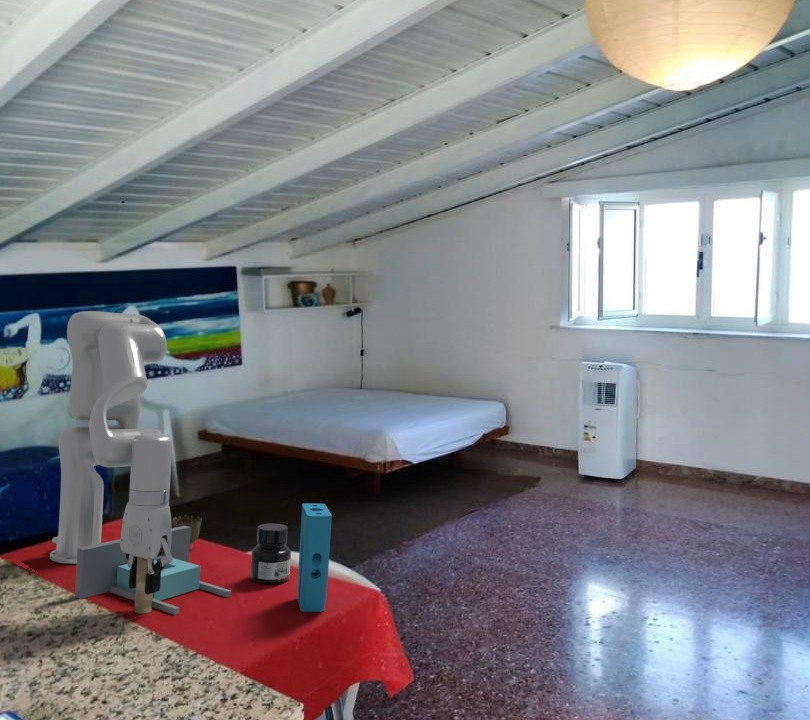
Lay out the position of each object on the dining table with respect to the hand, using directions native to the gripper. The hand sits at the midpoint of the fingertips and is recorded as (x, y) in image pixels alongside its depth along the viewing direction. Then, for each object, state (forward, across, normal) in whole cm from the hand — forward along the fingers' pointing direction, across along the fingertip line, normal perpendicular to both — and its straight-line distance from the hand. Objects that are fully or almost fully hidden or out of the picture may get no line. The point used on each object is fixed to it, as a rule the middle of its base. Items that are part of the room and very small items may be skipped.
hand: (144, 588), depth 150 cm
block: (+5, +22, +25) cm, 34 cm away
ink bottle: (+5, +4, +32) cm, 33 cm away
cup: (+5, -28, +35) cm, 45 cm away
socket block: (+4, -8, +10) cm, 13 cm away
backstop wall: (+4, -5, +10) cm, 12 cm away
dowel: (+4, 0, 0) cm, 4 cm away
